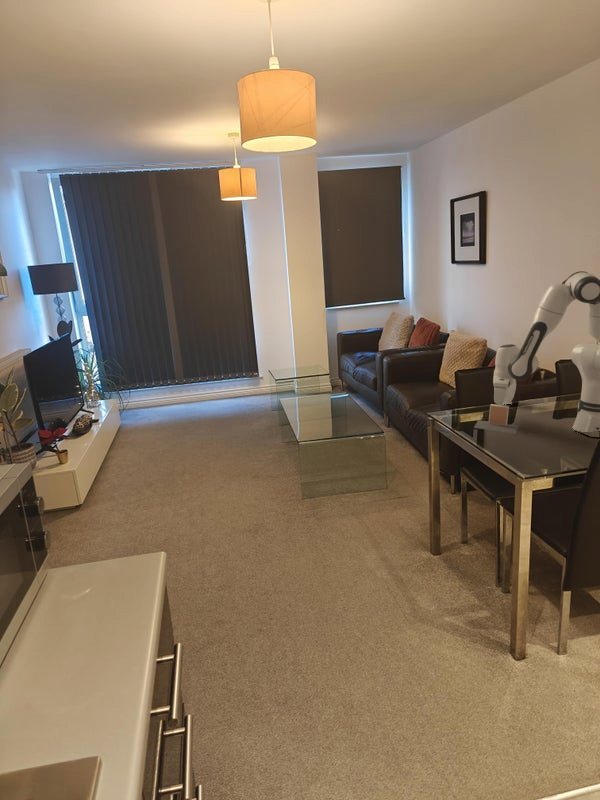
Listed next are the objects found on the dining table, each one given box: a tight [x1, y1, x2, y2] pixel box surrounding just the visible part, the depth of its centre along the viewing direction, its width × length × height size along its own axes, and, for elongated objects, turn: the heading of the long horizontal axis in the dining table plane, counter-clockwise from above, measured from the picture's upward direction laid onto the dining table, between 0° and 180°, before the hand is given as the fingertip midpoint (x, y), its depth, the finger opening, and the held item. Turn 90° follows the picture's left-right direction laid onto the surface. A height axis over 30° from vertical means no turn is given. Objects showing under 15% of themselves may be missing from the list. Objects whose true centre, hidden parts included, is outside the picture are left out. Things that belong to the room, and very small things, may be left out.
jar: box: [496, 379, 517, 406], centre depth 278 cm, size 11×10×15 cm
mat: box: [473, 419, 519, 435], centre depth 243 cm, size 18×12×1 cm, turn 63°
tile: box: [488, 403, 510, 426], centre depth 245 cm, size 8×2×9 cm, turn 63°
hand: (500, 407), depth 248 cm, fingers closed
